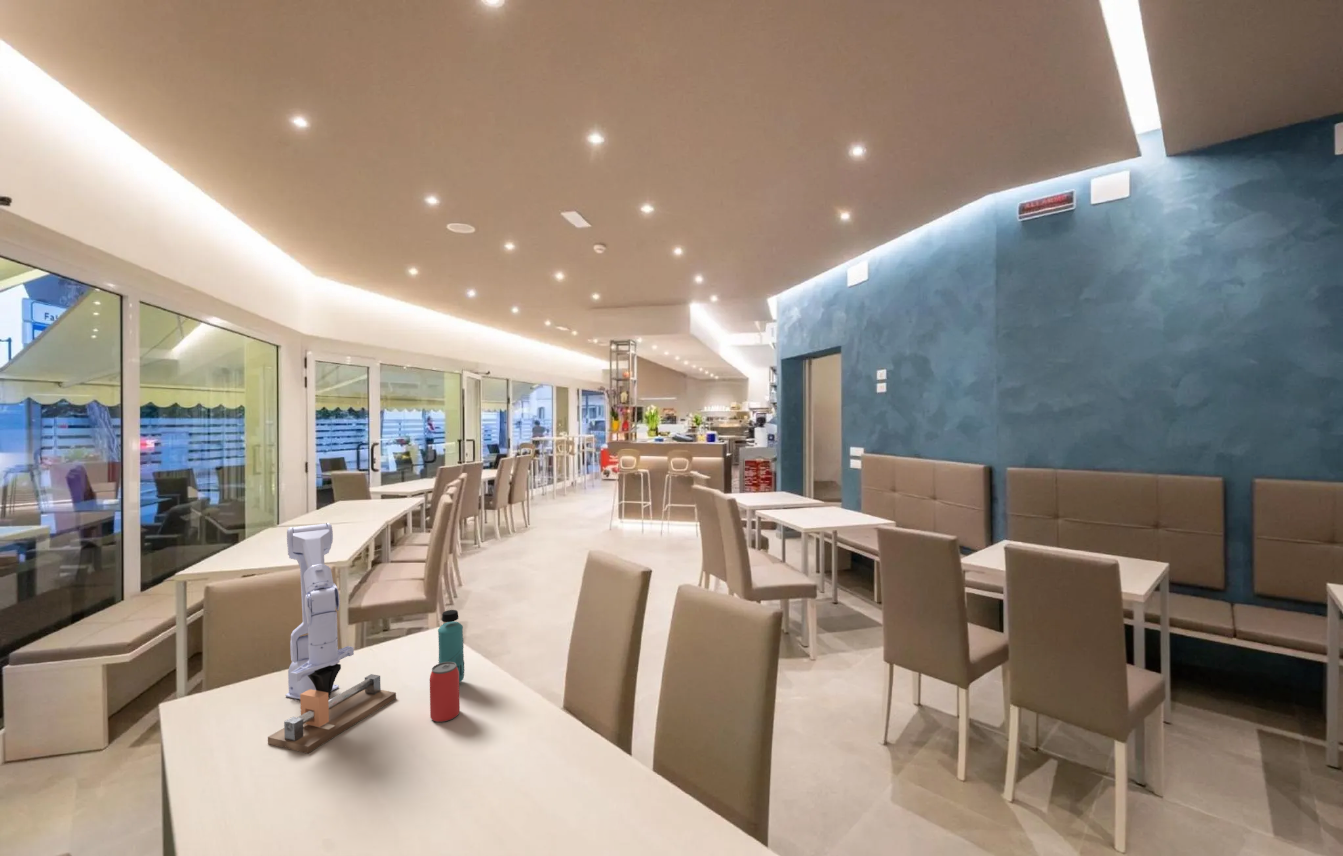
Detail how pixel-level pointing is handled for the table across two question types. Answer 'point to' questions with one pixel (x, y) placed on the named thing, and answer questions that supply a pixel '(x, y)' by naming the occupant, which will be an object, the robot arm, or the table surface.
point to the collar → (315, 706)
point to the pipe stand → (330, 706)
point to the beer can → (444, 692)
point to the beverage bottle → (451, 641)
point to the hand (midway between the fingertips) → (324, 697)
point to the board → (335, 721)
